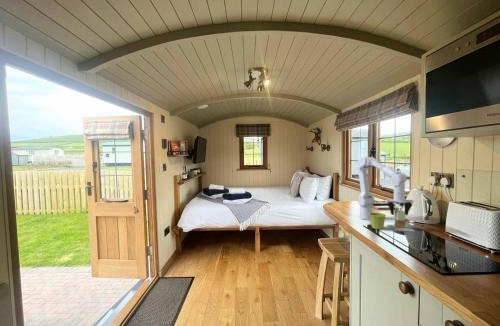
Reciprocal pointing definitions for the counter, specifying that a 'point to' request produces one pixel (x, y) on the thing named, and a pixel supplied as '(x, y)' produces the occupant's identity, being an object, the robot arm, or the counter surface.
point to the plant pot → (377, 220)
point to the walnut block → (399, 223)
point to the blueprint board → (401, 228)
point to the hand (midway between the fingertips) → (399, 214)
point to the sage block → (399, 215)
